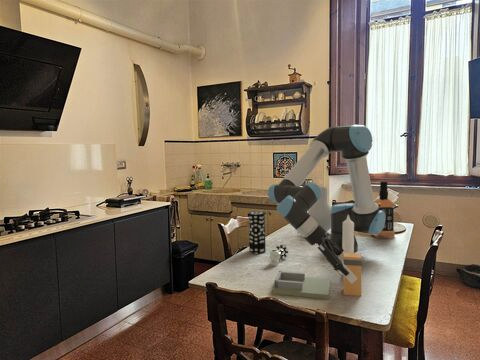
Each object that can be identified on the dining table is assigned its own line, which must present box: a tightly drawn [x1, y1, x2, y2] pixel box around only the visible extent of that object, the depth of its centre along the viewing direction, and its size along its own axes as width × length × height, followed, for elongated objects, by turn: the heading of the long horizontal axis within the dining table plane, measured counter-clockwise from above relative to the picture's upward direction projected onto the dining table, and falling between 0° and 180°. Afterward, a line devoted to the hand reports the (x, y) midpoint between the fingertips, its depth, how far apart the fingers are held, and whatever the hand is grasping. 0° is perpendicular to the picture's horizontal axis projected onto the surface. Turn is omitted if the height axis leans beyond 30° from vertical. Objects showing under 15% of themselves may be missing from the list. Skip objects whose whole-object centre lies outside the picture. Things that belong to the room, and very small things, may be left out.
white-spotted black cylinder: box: [248, 210, 267, 255], centre depth 176 cm, size 8×8×20 cm
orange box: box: [342, 252, 363, 297], centre depth 126 cm, size 6×5×14 cm
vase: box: [307, 186, 333, 235], centre depth 208 cm, size 17×16×28 cm
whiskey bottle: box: [371, 180, 396, 239], centre depth 199 cm, size 10×10×32 cm
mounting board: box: [272, 270, 331, 300], centre depth 131 cm, size 20×15×4 cm
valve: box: [269, 244, 289, 267], centre depth 161 cm, size 7×7×12 cm
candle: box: [338, 215, 355, 276], centre depth 143 cm, size 7×7×25 cm
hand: (353, 273), depth 125 cm, fingers open, 13 cm apart
